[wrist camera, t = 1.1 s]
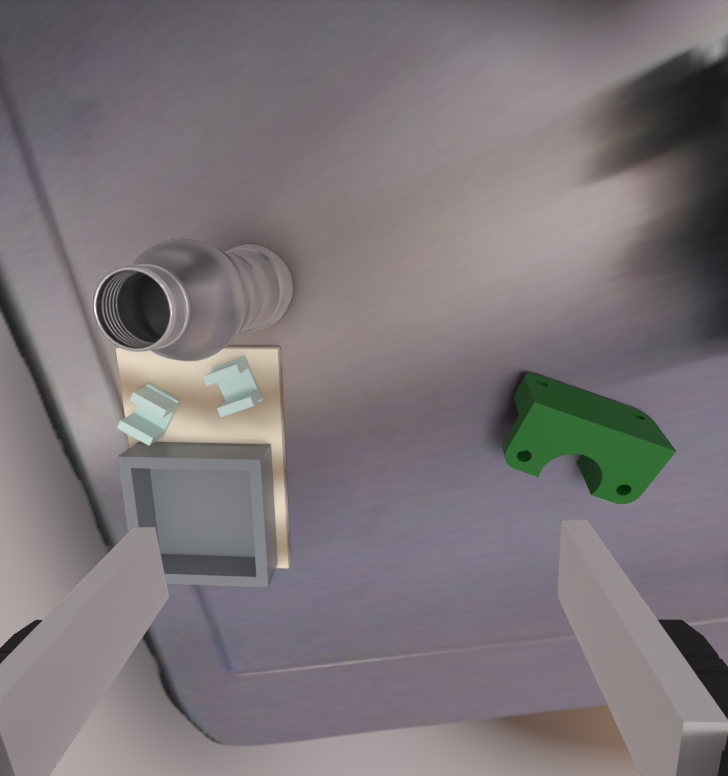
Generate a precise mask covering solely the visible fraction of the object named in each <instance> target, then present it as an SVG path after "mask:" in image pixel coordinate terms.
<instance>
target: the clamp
mask: <svg viewBox="0 0 728 776" xmlns="http://www.w3.org/2000/svg"><path fill="white" fill-rule="evenodd" d="M514 400H515V403H516V407H517V411H518V414H519V416H518V417H517V419H516V421H515V423H514V425H513V426H512V428H511V430H510V432H509V433H508V435H507V437H506V439H505V440H504V443H503V450H504V455H505V459H506V462H507V463H508V465H509V466H511V467H512V468H514V469H517V470H520V471H523V472H526V473H528V474H531V475H534V476H537V477H539V474H540V471H541V469H542V468H543V467H544V466H545V464H547V463H548V462H549V461H550V460H552V459H554V458H556V457H558V456H561V455H566V454H580V455H582V456H581V457H580V458H579V459H578V460H577V462H578V465H579V467H580V469H581V472H582V474H583V477H584V479H585V481H586V484H587V486H588V489H589V491H590V493H591V495H593V496H596V497H599V498H602V499H605V500H608V501H611V502H614V503H617V504H626V503H630V502H633V501H635V500H636V499H638V498H639V497H640V496H641V494H642V493H643V492H644V491H645V489H646V488H647V487H648V486H649V484H650V483H651V482H652V481H653V479H654V478H655V477H656V476H657V475H658V473H659V472H660V471H661V470H662V468H663V467H664V466H665V465H666V463H667V462H668V461H669V460H670V458H671V457H672V456H673V455H674V453H675V452H676V450H675V449H674V447H673V446H672V445H671V443H670V442H669V441H668V439H667V438H666V437H665V435H664V434H663V433H662V431H661V430H660V429H659V427H658V426H657V425H656V423H655V422H654V421H653V419H652V418H650V417H649V416H648V415H646V414H645V413H643V412H642V411H640V410H638V409H636V408H633V407H630V406H627V405H625V404H622V403H619V402H616V401H613V400H610V399H607V398H604V397H601V396H599V395H596V394H593V393H590V392H587V391H584V390H581V389H578V388H575V387H573V386H570V385H567V384H564V383H561V382H558V381H555V380H552V379H550V378H547V377H544V376H541V375H538V374H534V373H527V374H526V375H525V376H524V378H523V380H522V382H521V384H520V385H519V387H518V389H517V391H516V393H515V395H514ZM522 450H525V451H522ZM521 451H522V452H521Z"/></svg>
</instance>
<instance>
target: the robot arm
mask: <svg viewBox="0 0 728 776" xmlns="http://www.w3.org/2000/svg"><path fill="white" fill-rule="evenodd" d="M168 598H169V594H168V589H167V584H166V579H165V574H164V569H163V564H162V559H161V554H160V549H159V544H158V539H157V534H156V529H155V527H133V528H132V529H131V530H130V531H129V532H128V533H127V534H126V535H125V536H124V537H123V538H122V539H121V541H120V542H119V543H118V544H117V545H116V546H115V547H114V548H113V549H112V550H111V551H110V552H109V553H108V554H107V555H106V556H105V557H104V558H103V559H102V560H101V561H100V562H99V563H98V564H97V565H96V566H95V567H94V568H93V569H92V570H91V571H90V572H89V573H88V574H87V575H86V576H85V577H84V578H83V580H82V581H81V582H80V583H79V584H78V585H77V586H76V587H75V588H74V589H73V590H72V591H71V592H70V593H69V594H68V595H67V596H66V597H65V598H64V599H63V600H62V601H61V602H60V603H59V604H58V605H57V606H56V607H55V608H54V609H53V610H52V611H51V613H49V614H48V615H47V617H45V619H44V620H35V621H33V622H32V623H30V624H29V625H27V626H26V627H25V628H23V629H21V630H20V631H19V632H17V633H15V634H14V635H13V636H12V637H11V638H10V639H9V640H8V641H7V642H6V643H5V644H4V645H3V646H2V647H1V648H0V776H49V775H50V774H51V772H52V771H53V770H54V768H55V767H56V765H57V763H58V762H59V760H60V759H61V758H62V756H63V755H64V753H65V752H66V750H67V749H68V747H69V746H70V744H71V743H72V741H73V740H74V738H75V737H76V735H77V734H78V732H79V731H80V729H81V728H82V726H83V725H84V723H85V722H86V720H87V719H88V717H89V716H90V714H91V713H92V711H93V710H94V708H95V707H96V705H97V704H98V702H99V701H100V700H101V698H102V697H103V695H104V694H105V692H106V691H107V689H108V688H109V686H110V685H111V683H112V681H113V680H114V679H115V677H116V675H117V674H118V673H119V671H120V670H121V668H122V666H123V665H124V664H125V662H126V661H127V659H128V658H129V656H130V655H131V653H132V652H133V650H134V649H135V647H136V646H137V644H138V643H139V641H140V640H141V638H142V637H143V635H144V634H145V633H146V631H147V630H148V628H149V627H150V625H151V624H152V622H153V621H154V619H155V618H156V616H157V615H158V613H159V612H160V610H161V609H162V607H163V606H164V604H165V603H166V601H167V600H168ZM558 598H559V600H560V602H561V605H562V607H563V609H564V611H565V613H566V615H567V618H568V620H569V622H570V624H571V626H572V628H573V631H574V633H575V635H576V637H577V639H578V641H579V644H580V646H581V648H582V650H583V652H584V654H585V657H586V659H587V661H588V663H589V665H590V667H591V670H592V672H593V674H594V676H595V678H596V680H597V683H598V685H599V687H600V689H601V691H602V693H603V696H604V698H605V700H606V702H607V704H608V706H609V709H610V710H611V713H612V715H613V717H614V719H615V722H616V724H617V726H618V728H619V730H620V732H621V735H622V737H623V739H624V741H625V743H626V745H627V748H628V750H629V752H630V754H631V756H632V758H633V761H634V763H635V765H636V767H637V769H638V771H639V774H640V776H728V666H727V665H726V664H725V663H724V661H723V660H722V659H719V656H718V654H717V653H716V651H715V650H714V649H713V648H712V646H711V645H710V644H709V643H708V641H707V640H706V639H705V638H704V636H703V635H701V634H700V633H699V632H697V631H696V630H695V629H693V628H692V627H691V626H689V625H688V624H686V623H685V622H684V621H682V620H657V618H656V617H655V616H654V614H653V613H652V611H651V610H650V609H649V607H648V606H647V604H646V603H645V601H644V600H643V599H642V597H641V596H640V594H639V593H638V592H637V590H636V589H635V587H634V586H633V584H632V583H631V582H630V580H629V579H628V577H627V576H626V574H625V573H624V572H623V570H622V569H621V567H620V566H619V565H618V563H617V562H616V560H615V559H614V557H613V556H612V555H611V553H610V552H609V550H608V549H607V548H606V546H605V545H604V543H603V542H602V540H601V539H600V538H599V536H598V535H597V533H596V532H595V530H594V529H593V528H592V526H591V525H590V523H589V522H588V521H587V520H576V521H562V525H561V543H560V562H559V580H558Z"/></svg>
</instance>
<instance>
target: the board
mask: <svg viewBox="0 0 728 776" xmlns="http://www.w3.org/2000/svg"><path fill="white" fill-rule="evenodd" d="M116 353H117V360H118V368H119V375H120V382H121V390H122V397H123V405H124V412H125V418H126V417H128V416H129V415H131V414H133V413H134V412H135V409H136V407H137V404H135V403H133V402H131V401H130V399H131V396H132V394H133V392H135V391H137V390H139V389H141V388H143V387H145V386H146V385H147V384H148V383H150V382H151V383H153V384H154V385H156V386H158V387H160V388H162V389H163V390H165V391H167V392H169V393H171V394H173V395H174V396H176V397H178V398H180V399H182V400H181V402H180V404H179V406H178V408H177V410H176V412H175V414H174V416H173V418H172V420H171V422H170V424H169V426H168V428H167V430H166V432H165V435H164V437H162V438H161V439H160V438H159V439H158V440H157V441H155V442H191V443H242V444H271V450H272V468H273V486H274V504H275V522H276V540H277V558H278V564H277V567H276V568H289V565H290V563H291V557H290V537H289V516H288V495H287V474H286V454H285V433H284V412H283V391H282V370H281V350H280V347H228V346H226V347H225V348H223V349H222V350H221V351H219V352H218V353H217V354H215V355H213V356H211V357H209V358H207V359H203V360H199V361H186V362H185V361H179V360H173V359H167V358H165V357H162V356H159V355H157V354H155V353H154V352H152V351H150V350H148V351H143V352H134V351H128V350H124V349H122V348H119V347H117V348H116ZM243 356H246V358H247V360H248V363H249V365H250V367H251V370H252V372H253V374H254V377H255V379H256V381H257V384H258V386H259V388H260V391H261V393H262V395H263V398H264V399H263V400H262V401H260V402H257V403H256V404H255V405H254V406H252V407H249V408H246V409H243V410H241V411H238V412H235V413H232V414H229V415H226V416H223V417H220V414H219V412H218V410H217V408H218V407H219V406H220V405H222V404H223V403H224V402H225V399H224V396H223V394H222V392H221V390H220V388H219V385H218V383H217V382H216V383H213V384H211V385H208V386H206V384H205V381H204V379H203V376H205V375H206V374H208V373H210V372H211V371H212V370H211V369H212V368H213V367H216V366H219V365H222V364H224V363H227V362H230V361H233V360H235V359H238V358H241V357H243ZM128 442H129V448H131V447H132V446H134V445H135V444H136V443H138V442H141V441H140V440H138V439H136V438H134V437H132V436H130V435H128Z"/></svg>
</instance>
